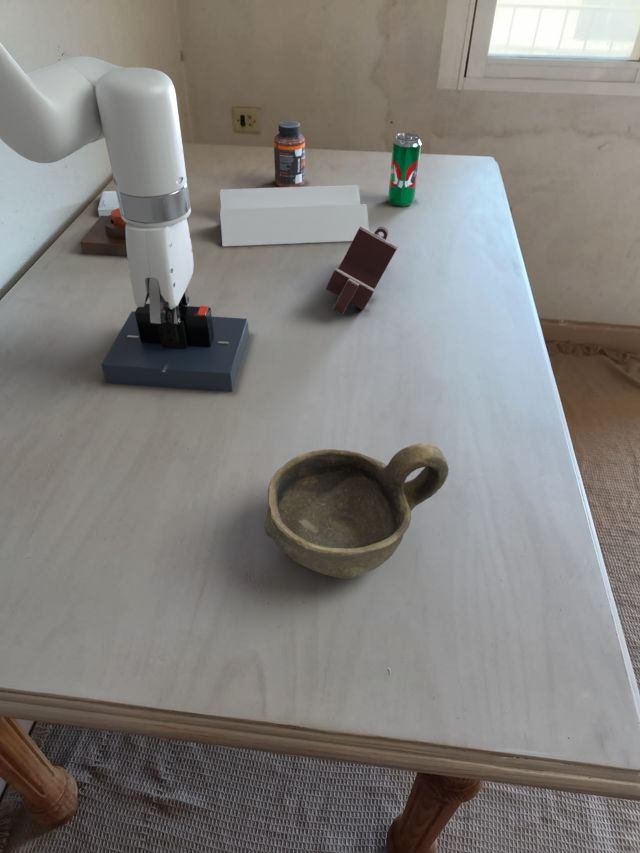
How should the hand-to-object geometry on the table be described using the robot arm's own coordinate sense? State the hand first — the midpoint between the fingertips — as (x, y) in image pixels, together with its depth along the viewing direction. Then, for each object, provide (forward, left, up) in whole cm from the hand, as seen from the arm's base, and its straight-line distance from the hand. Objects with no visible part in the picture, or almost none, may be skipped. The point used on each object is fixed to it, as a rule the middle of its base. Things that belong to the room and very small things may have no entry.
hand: (177, 339), depth 80 cm
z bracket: (+10, +40, -3) cm, 41 cm away
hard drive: (-20, +45, -3) cm, 49 cm away
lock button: (-17, +31, 0) cm, 35 cm away
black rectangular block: (0, 0, 0) cm, 0 cm away
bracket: (+23, +19, -3) cm, 30 cm away
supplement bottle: (+7, +59, -3) cm, 60 cm away
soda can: (+29, +53, -3) cm, 61 cm away
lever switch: (0, 0, -3) cm, 3 cm away
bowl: (+24, -26, -3) cm, 36 cm away
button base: (-17, +31, -3) cm, 35 cm away
